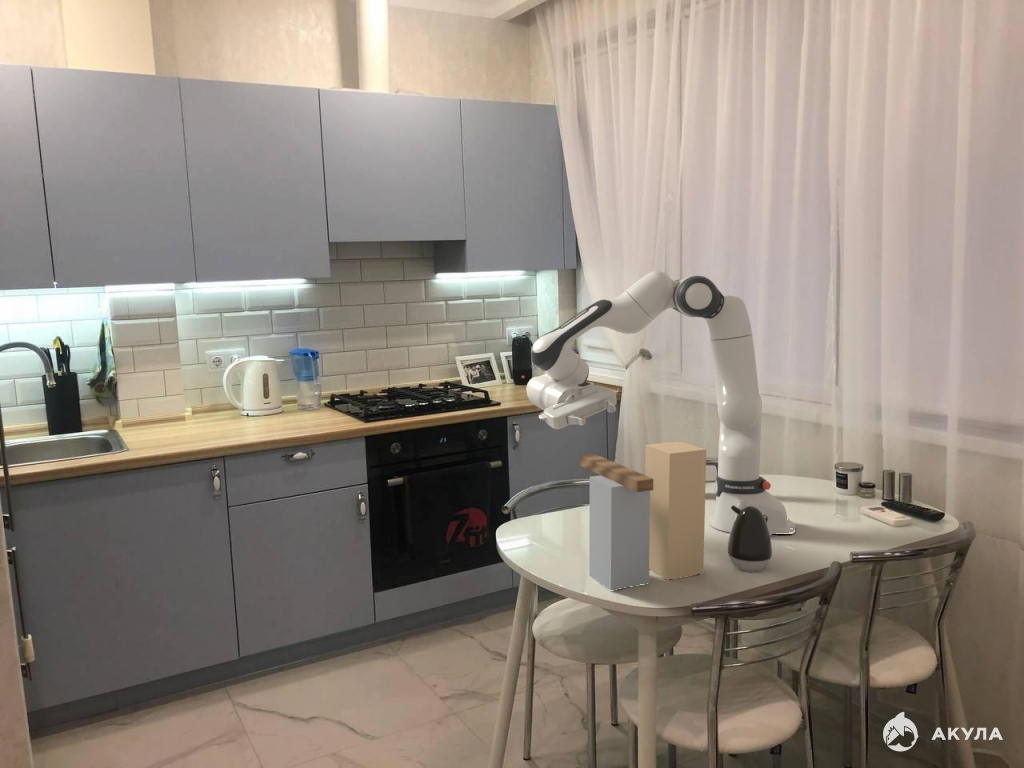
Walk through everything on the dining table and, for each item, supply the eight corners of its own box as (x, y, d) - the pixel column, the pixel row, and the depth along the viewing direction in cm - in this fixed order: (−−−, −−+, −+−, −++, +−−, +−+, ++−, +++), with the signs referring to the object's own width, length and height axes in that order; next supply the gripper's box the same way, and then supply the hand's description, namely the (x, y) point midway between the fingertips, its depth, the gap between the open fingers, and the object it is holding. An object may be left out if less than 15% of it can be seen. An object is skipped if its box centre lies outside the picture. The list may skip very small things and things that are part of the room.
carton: (643, 566, 197) (645, 444, 193) (678, 559, 201) (680, 440, 197) (667, 580, 188) (669, 453, 184) (703, 573, 192) (706, 449, 187)
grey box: (589, 576, 191) (589, 476, 188) (626, 569, 195) (627, 471, 192) (610, 591, 182) (611, 487, 179) (648, 584, 186) (650, 482, 183)
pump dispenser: (741, 557, 202) (743, 497, 200) (779, 568, 195) (782, 506, 192) (717, 567, 196) (719, 506, 194) (755, 579, 188) (758, 515, 186)
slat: (580, 465, 198) (580, 455, 198) (594, 463, 200) (594, 454, 199) (637, 492, 174) (637, 480, 174) (653, 490, 176) (653, 478, 176)
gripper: (533, 404, 212) (563, 418, 200) (595, 379, 221) (628, 391, 209) (537, 426, 214) (567, 441, 202) (598, 400, 223) (630, 413, 211)
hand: (598, 415), depth 206 cm, fingers open, 8 cm apart
